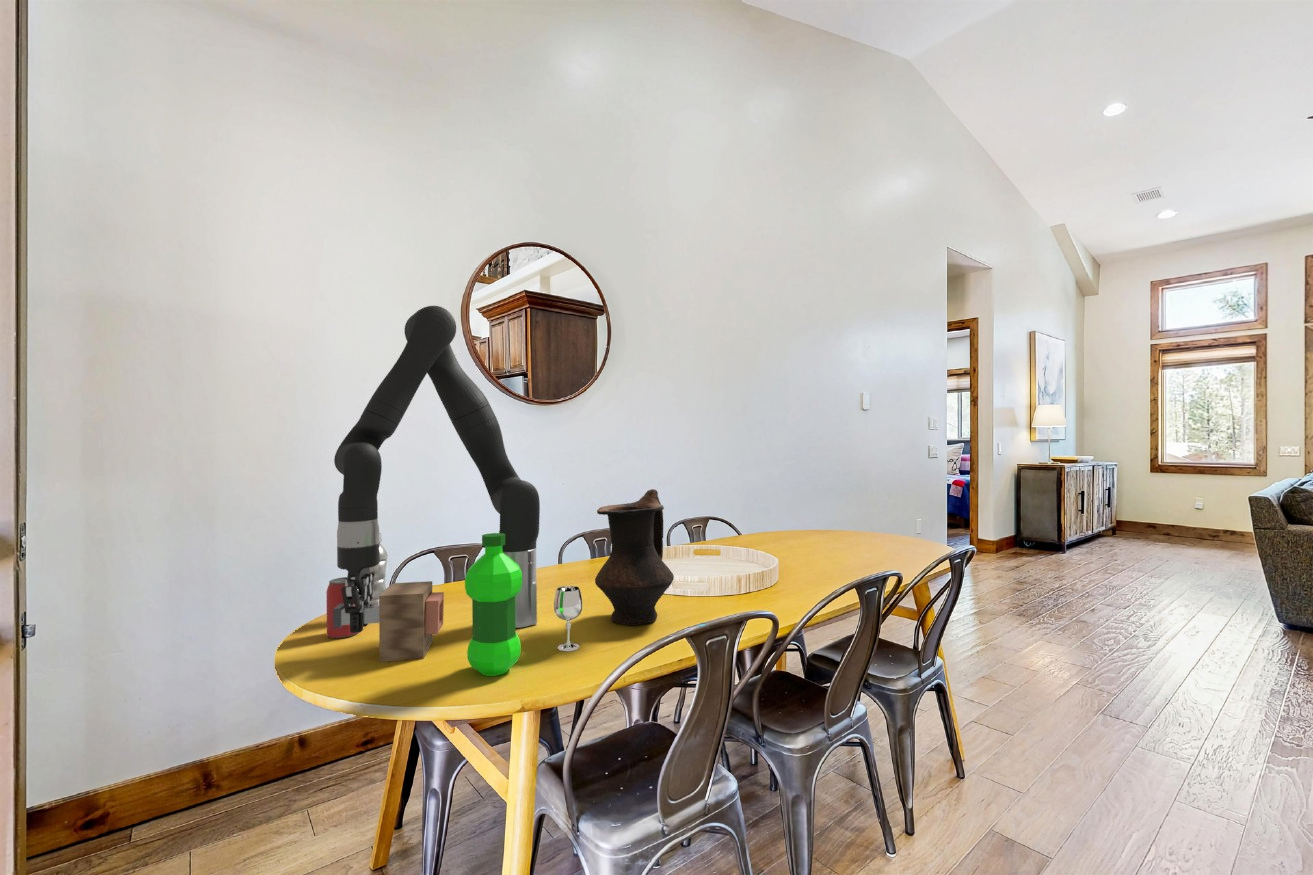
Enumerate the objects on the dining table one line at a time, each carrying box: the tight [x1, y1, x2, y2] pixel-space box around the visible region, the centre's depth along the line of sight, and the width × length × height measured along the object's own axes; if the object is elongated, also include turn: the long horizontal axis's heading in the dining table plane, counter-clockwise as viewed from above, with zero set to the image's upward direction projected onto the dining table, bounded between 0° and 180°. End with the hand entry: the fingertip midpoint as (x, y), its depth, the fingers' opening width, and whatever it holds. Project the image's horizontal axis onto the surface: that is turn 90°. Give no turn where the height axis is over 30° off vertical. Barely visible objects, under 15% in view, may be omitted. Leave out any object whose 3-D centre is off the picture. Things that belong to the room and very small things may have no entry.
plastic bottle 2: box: [464, 532, 522, 677], centre depth 108 cm, size 10×10×25 cm
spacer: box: [425, 591, 445, 635], centre depth 119 cm, size 2×7×7 cm, turn 12°
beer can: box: [326, 576, 358, 639], centre depth 129 cm, size 7×7×12 cm
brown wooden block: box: [378, 580, 434, 663], centre depth 118 cm, size 8×10×13 cm
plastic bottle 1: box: [370, 532, 388, 604], centre depth 141 cm, size 6×7×20 cm
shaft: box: [333, 603, 379, 628], centre depth 118 cm, size 18×4×4 cm, turn 101°
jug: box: [594, 488, 675, 626], centre depth 139 cm, size 21×18×30 cm
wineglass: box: [553, 585, 583, 652], centre depth 120 cm, size 6×6×12 cm
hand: (359, 628), depth 117 cm, fingers closed on shaft, 3 cm apart
